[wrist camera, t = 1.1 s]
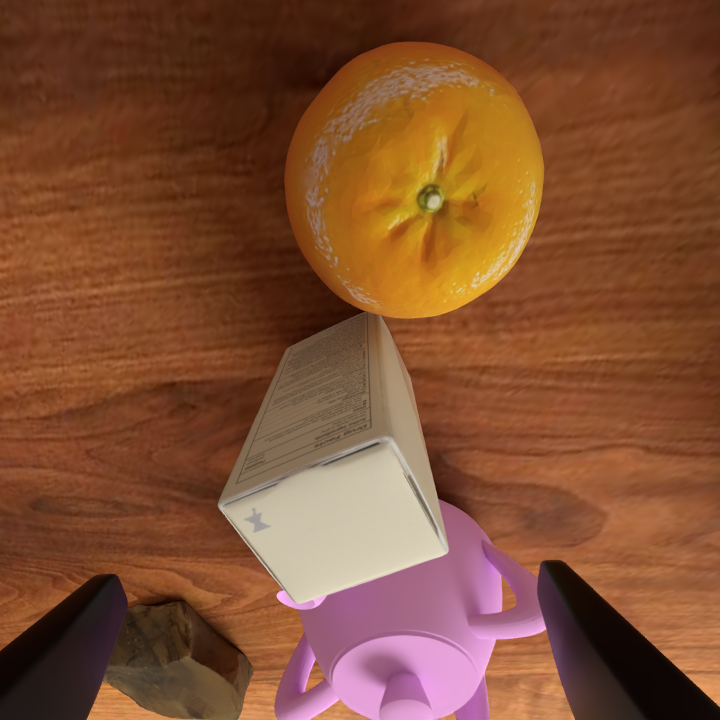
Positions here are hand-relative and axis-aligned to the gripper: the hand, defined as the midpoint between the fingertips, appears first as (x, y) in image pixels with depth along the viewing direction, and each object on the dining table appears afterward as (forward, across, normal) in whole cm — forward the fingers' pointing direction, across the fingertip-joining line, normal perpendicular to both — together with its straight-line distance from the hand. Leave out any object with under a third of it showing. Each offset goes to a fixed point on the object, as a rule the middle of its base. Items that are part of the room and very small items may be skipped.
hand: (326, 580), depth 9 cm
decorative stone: (+14, +14, +22) cm, 30 cm away
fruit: (+13, -3, -7) cm, 15 cm away
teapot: (+13, -2, +14) cm, 19 cm away
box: (+13, 0, +1) cm, 13 cm away
